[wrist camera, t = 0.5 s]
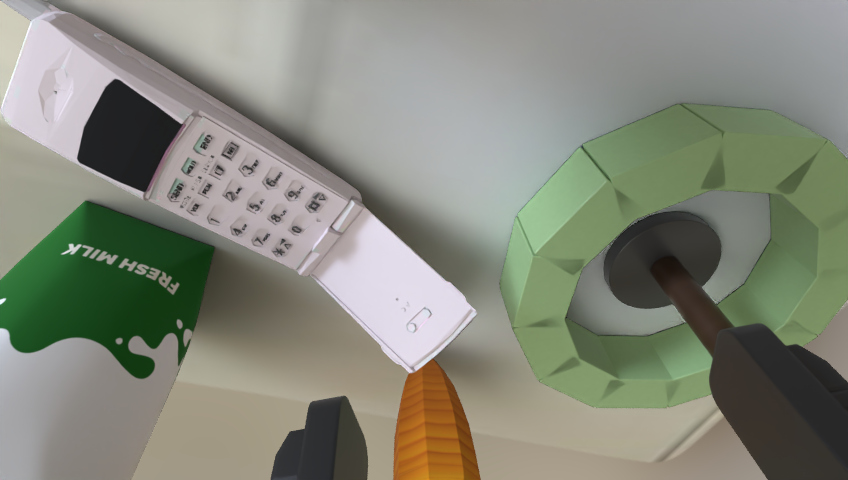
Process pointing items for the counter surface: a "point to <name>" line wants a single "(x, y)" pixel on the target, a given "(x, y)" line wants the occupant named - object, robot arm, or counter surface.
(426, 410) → the carrot
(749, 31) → the counter surface
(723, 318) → the peg stand
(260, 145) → the mobile phone
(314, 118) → the counter surface
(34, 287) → the milk carton
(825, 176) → the ring
